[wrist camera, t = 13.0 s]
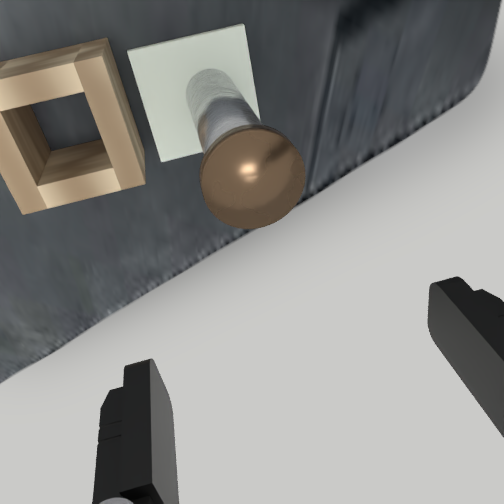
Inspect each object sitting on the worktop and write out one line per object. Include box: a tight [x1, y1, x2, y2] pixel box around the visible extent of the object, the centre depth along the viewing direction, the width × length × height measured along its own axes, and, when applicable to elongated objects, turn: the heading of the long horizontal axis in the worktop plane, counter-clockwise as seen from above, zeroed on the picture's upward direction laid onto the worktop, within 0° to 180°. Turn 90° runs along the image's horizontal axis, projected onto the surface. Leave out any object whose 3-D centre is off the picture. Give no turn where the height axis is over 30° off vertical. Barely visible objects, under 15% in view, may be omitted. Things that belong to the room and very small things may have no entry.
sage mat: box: [127, 23, 260, 162], centre depth 34 cm, size 8×8×1 cm
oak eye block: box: [0, 38, 146, 215], centre depth 30 cm, size 8×8×6 cm
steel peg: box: [186, 68, 305, 229], centre depth 28 cm, size 5×5×15 cm
